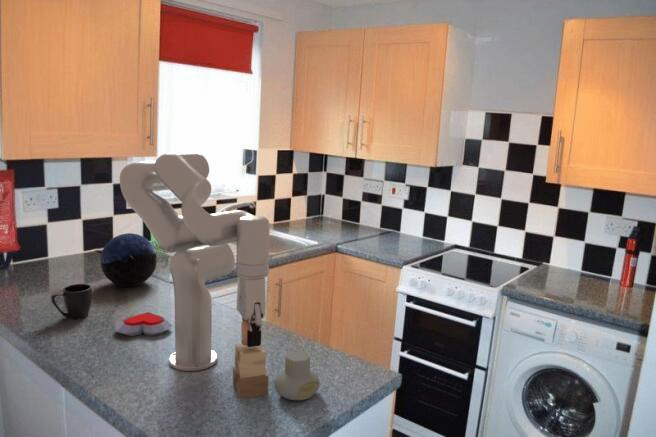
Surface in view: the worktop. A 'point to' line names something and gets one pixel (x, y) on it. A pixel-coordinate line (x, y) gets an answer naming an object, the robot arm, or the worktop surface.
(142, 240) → the decorative sphere
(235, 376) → the base block
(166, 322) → the sculpture
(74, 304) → the mug
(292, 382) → the air freshener
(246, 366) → the top block
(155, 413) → the worktop surface
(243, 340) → the brown rounded cylinder
